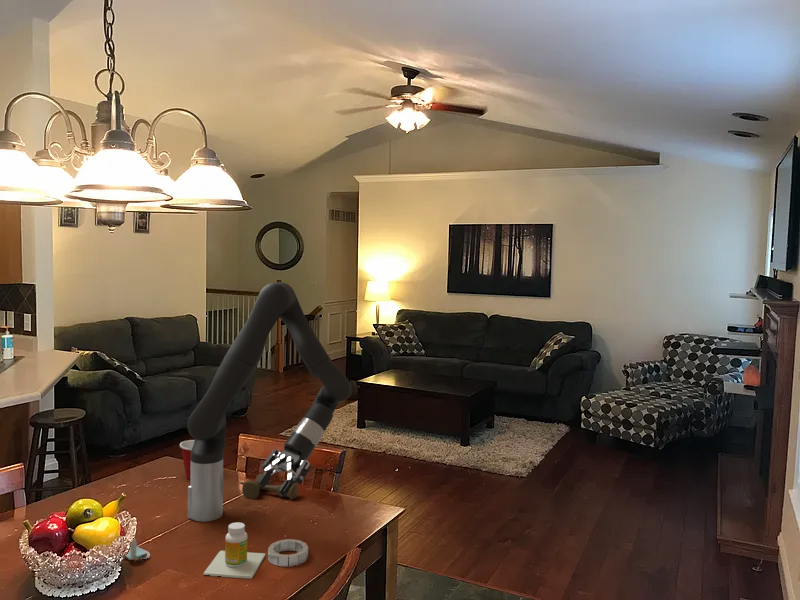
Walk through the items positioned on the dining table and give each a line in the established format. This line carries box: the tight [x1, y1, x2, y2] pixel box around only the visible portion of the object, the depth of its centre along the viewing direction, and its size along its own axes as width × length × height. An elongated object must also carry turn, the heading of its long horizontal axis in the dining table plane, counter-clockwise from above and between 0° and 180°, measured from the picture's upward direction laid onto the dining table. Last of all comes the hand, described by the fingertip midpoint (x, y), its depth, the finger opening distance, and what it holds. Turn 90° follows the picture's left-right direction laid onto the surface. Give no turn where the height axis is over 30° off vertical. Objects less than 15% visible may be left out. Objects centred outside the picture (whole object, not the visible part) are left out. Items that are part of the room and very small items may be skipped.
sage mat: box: [203, 550, 266, 580], centre depth 165 cm, size 12×12×1 cm
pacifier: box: [125, 537, 151, 561], centre depth 167 cm, size 7×6×6 cm
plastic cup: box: [179, 439, 195, 481], centre depth 224 cm, size 11×11×12 cm
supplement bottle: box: [224, 522, 248, 567], centre depth 165 cm, size 5×5×10 cm
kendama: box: [239, 473, 299, 501], centre depth 211 cm, size 6×10×20 cm
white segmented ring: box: [267, 538, 309, 568], centre depth 170 cm, size 10×10×2 cm
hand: (270, 490), depth 172 cm, fingers open, 8 cm apart
